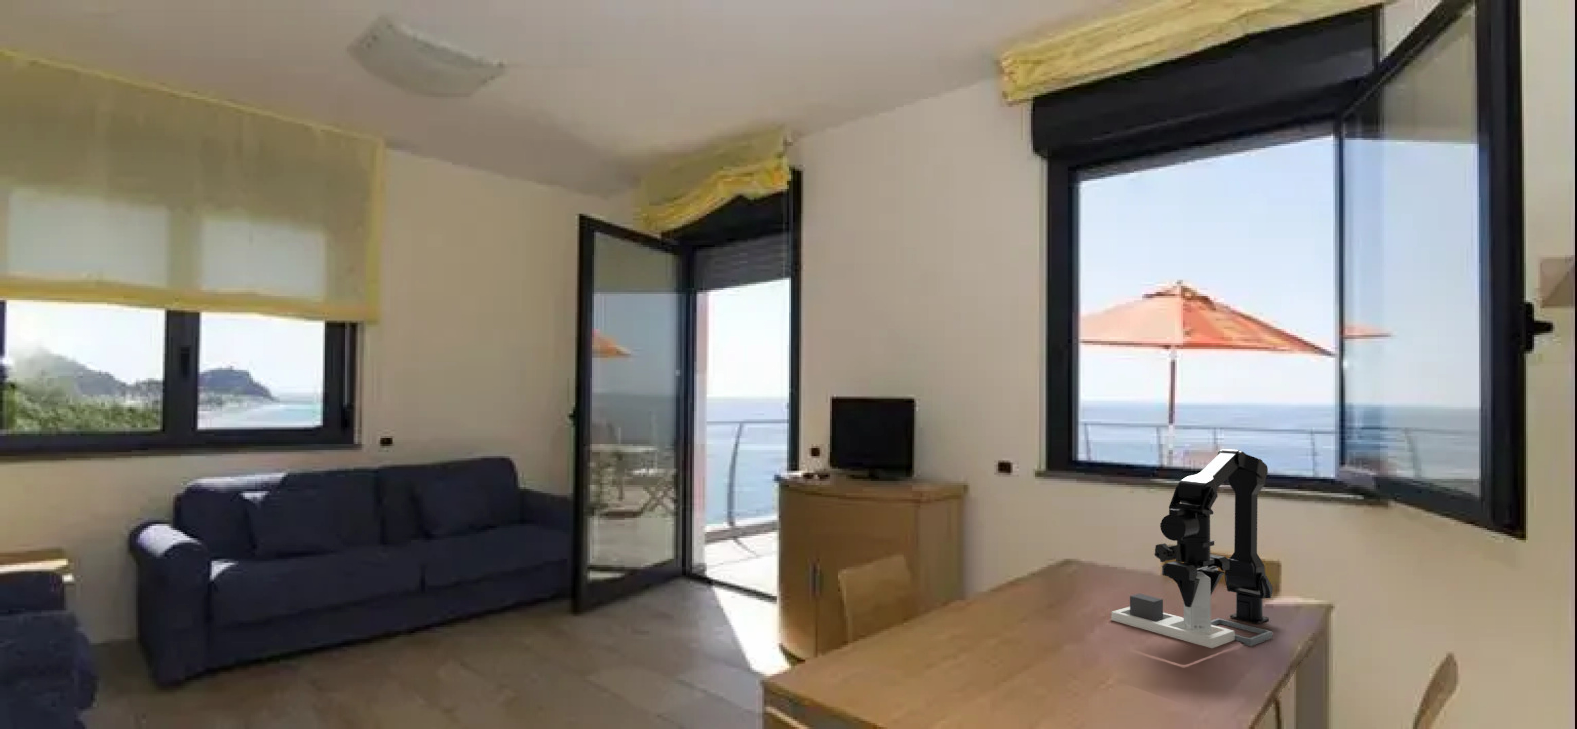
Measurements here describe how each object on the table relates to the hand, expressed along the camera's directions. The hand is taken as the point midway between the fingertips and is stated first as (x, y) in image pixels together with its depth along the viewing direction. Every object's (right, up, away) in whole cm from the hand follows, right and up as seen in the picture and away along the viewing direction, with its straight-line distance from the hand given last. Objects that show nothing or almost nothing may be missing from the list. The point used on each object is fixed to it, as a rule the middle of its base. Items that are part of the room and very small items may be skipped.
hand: (1196, 604), depth 177 cm
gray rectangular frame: (+10, -8, +3) cm, 13 cm away
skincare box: (0, -5, 0) cm, 5 cm away
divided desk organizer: (-4, -8, +5) cm, 10 cm away
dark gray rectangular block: (-7, -7, +10) cm, 14 cm away
